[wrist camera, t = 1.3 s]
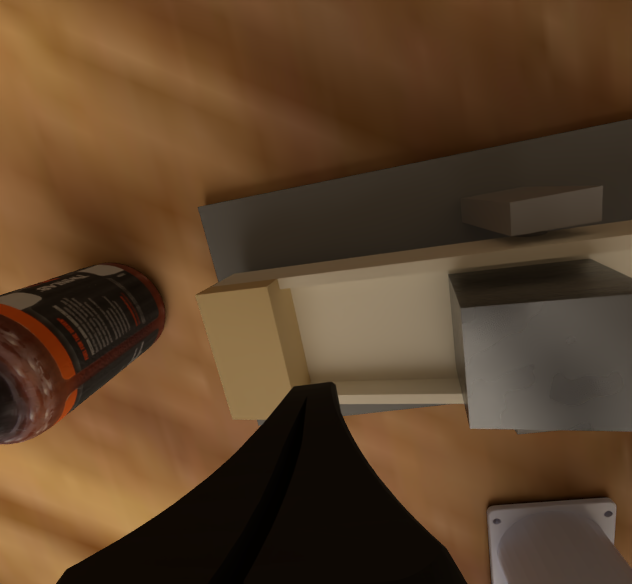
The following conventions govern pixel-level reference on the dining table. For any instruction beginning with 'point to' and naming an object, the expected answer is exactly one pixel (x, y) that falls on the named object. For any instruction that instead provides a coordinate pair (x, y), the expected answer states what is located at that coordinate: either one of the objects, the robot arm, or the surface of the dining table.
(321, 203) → the stand
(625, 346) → the rider
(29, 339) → the supplement bottle
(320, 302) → the beam
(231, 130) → the dining table surface
